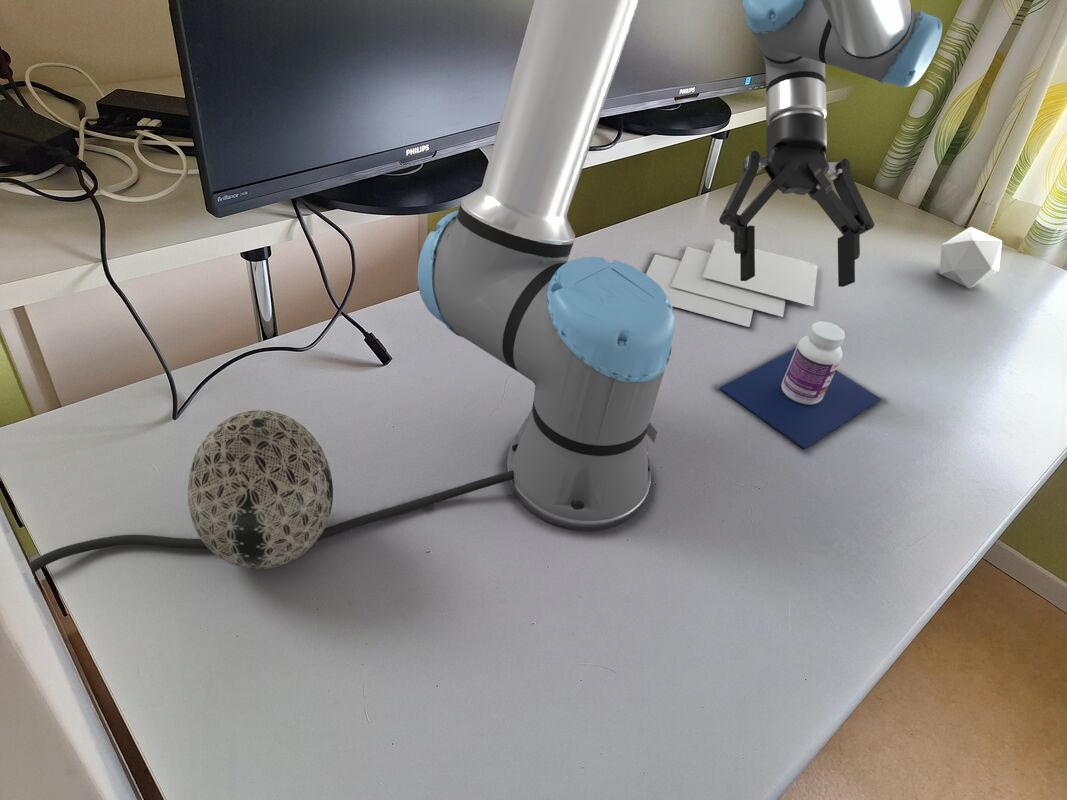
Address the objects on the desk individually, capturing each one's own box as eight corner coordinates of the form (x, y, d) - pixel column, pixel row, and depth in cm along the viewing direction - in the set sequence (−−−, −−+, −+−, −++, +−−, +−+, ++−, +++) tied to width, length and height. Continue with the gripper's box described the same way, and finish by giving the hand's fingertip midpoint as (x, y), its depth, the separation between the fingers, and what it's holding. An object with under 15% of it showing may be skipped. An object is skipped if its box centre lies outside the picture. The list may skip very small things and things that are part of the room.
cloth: (803, 449, 89) (804, 448, 88) (718, 389, 96) (719, 387, 96) (880, 400, 98) (881, 398, 98) (797, 348, 105) (798, 346, 105)
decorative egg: (220, 496, 74) (193, 374, 64) (344, 499, 75) (336, 381, 65) (186, 598, 65) (149, 475, 55) (327, 599, 66) (315, 479, 57)
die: (995, 289, 127) (997, 228, 126) (1003, 285, 118) (1005, 220, 118) (938, 291, 130) (939, 232, 129) (941, 287, 122) (943, 224, 121)
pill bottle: (824, 410, 94) (853, 347, 88) (781, 401, 95) (807, 338, 89) (820, 384, 98) (848, 323, 92) (779, 375, 99) (804, 313, 93)
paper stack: (808, 343, 106) (810, 339, 105) (635, 296, 110) (636, 292, 110) (816, 268, 123) (817, 264, 123) (666, 229, 128) (667, 226, 127)
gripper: (867, 142, 106) (870, 293, 104) (695, 127, 102) (694, 283, 100) (900, 118, 98) (904, 279, 96) (716, 101, 95) (716, 268, 93)
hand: (797, 281), depth 98 cm, fingers open, 13 cm apart
